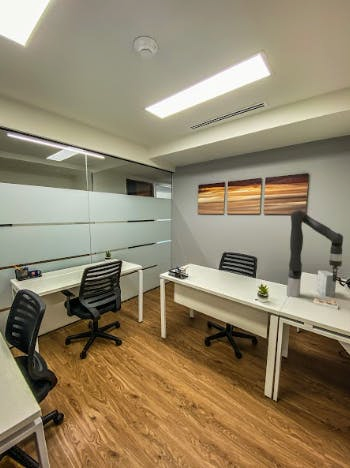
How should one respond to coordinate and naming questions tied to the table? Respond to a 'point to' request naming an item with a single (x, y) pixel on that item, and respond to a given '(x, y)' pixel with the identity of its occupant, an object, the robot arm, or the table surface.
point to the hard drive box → (326, 284)
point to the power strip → (325, 304)
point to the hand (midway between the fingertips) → (334, 280)
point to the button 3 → (333, 302)
